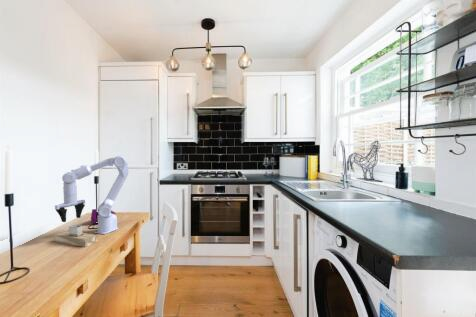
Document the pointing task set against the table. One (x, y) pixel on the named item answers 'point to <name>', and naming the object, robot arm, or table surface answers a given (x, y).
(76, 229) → the rectangular metal block
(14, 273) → the table surface
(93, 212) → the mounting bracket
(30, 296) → the table surface
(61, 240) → the post beam
